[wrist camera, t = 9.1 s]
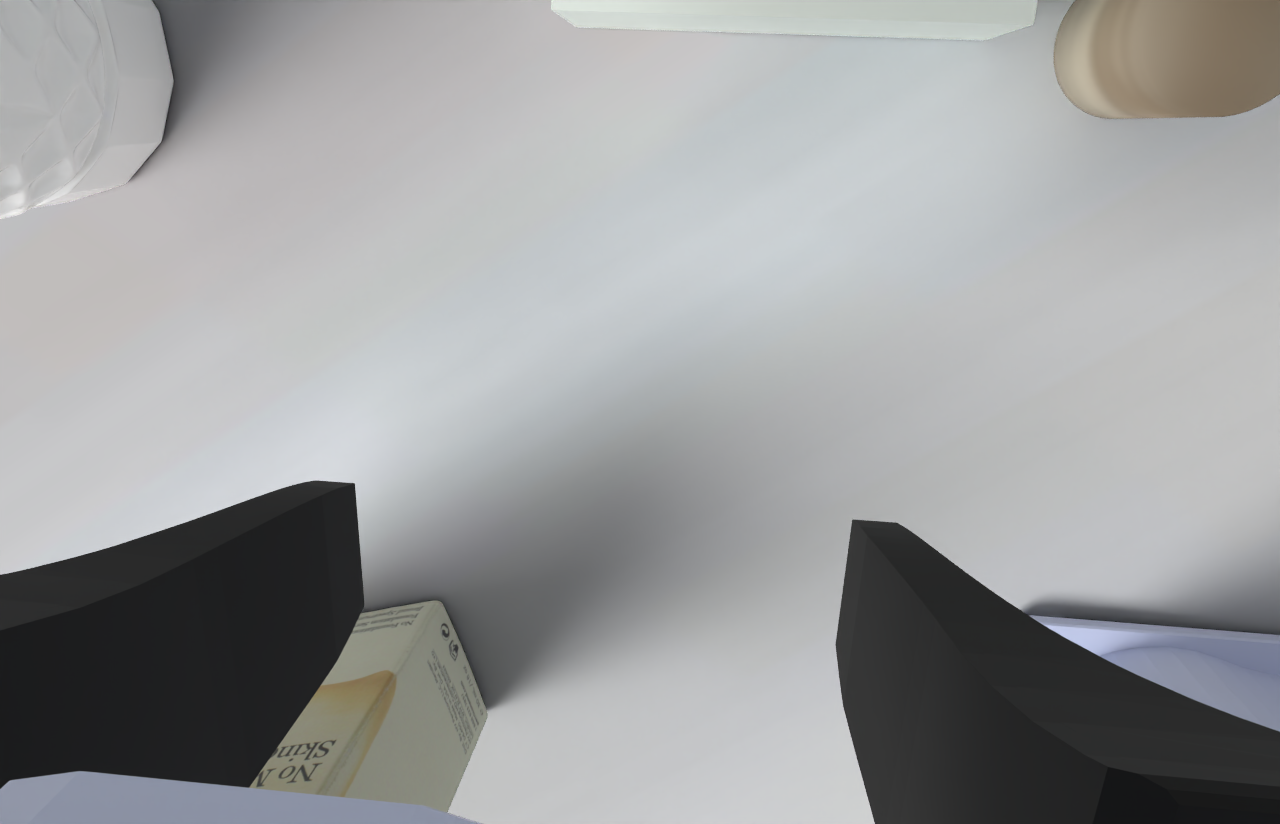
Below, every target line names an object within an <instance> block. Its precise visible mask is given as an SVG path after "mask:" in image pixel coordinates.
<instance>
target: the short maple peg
mask: <svg viewBox="0 0 1280 824" xmlns="http://www.w3.org/2000/svg"><path fill="white" fill-rule="evenodd" d="M1054 68H1055V73H1056V77H1057V81H1058V83H1059V85H1060V87H1061V89H1062V91H1063V92H1064V94H1065V96H1066V97H1067V98H1068V99H1069V100H1070V101H1071V102H1072V103H1073V104H1074V105H1075V106H1076V107H1077V108H1079V109H1081V110H1082V111H1084V112H1086V113H1088V114H1090V115H1093V116H1096V117H1100V118H1107V119H1131V118H1183V117H1224V116H1230V115H1236V114H1239V113H1243V112H1247V111H1249V110H1252V109H1254V108H1256V107H1259V106H1261V105H1263V104H1264V103H1266V102H1268V101H1270V100H1271V99H1273V98H1274V97H1276V96H1277V95H1279V94H1280V0H1076V1H1075V2H1074V3H1073V4H1072V5H1071V7H1070V8H1069V10H1068V11H1067V13H1066V15H1065V17H1064V19H1063V20H1062V22H1061V25H1060V27H1059V30H1058V33H1057V36H1056V41H1055V46H1054Z"/></svg>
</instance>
